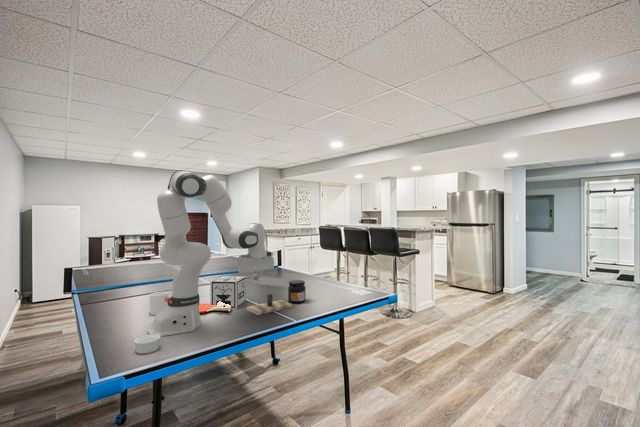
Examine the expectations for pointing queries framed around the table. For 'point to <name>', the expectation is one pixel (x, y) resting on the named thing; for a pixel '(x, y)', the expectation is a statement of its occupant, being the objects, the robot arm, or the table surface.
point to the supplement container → (296, 292)
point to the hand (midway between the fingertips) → (256, 279)
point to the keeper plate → (269, 306)
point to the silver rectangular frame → (270, 280)
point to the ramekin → (147, 343)
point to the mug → (157, 302)
